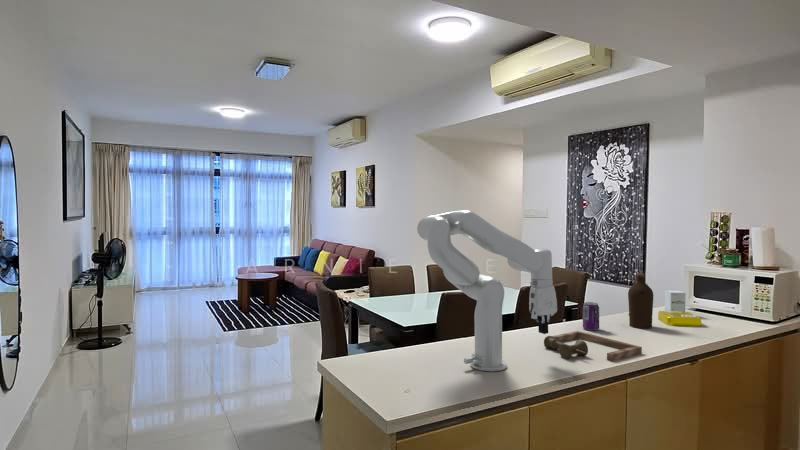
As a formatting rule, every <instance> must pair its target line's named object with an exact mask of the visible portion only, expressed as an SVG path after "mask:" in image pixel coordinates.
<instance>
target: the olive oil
mask: <svg viewBox="0 0 800 450" xmlns="http://www.w3.org/2000/svg"><path fill="white" fill-rule="evenodd" d="M645 281H646V280H645V273H641V272H640V273H637V274H636V282H635V283H633V285H631V286H630V288H629V289H628V292H627V298H628V299H627V300H628V301H627V302H628V317H629V319H628V320H629V322H628V323H629V327H631V328H635V329H644V330H645V329H647V330H649V329H652V327H653V312H654V311H653V309H654V291H653V289H652V288H651V287H650V286H649V285H648V284H647V283H646V282H645Z"/></svg>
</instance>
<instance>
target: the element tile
mask: <svg viewBox="0 0 800 450" xmlns="http://www.w3.org/2000/svg"><path fill="white" fill-rule="evenodd" d="M657 317H658V318H657V320H659V321H660V322H661V323H663V324H664V325H667V326H672V327H692V328H693V327H694V328H695V327H697V328H699V327H702V317H700V316H698V315H697V314H693V313H692V312H689V311H685V312H673V311H665V310H663V311H662V310H658V312H657Z"/></svg>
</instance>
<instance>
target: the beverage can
mask: <svg viewBox="0 0 800 450" xmlns="http://www.w3.org/2000/svg"><path fill="white" fill-rule="evenodd" d="M582 328H583V329H585V330H587V331H597V330H599V329H600V306H599V303H598V302H594V301H593V302H590V301H586V302H583V305H582Z"/></svg>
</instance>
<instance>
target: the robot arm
mask: <svg viewBox="0 0 800 450" xmlns="http://www.w3.org/2000/svg"><path fill="white" fill-rule="evenodd" d="M416 230H417V234H418V236H419V237H420V238H421V239H423V240H424V241H427V249H428V253H429V256H430V258H431V260H432V261H433V262H434V263H435V264H436V265H437V266H438V267H439V268H441V270H442V272H443V275H444V277H445V279H446V280H447V281H448V282H449V283H451V285H453V286H454V287H455V288H457V289H458V290H459V291H461V292H462V293H464V295H466V296H467V297H469V298H471V299H473V300H475V301H476V305H475V307H474V308H475V309H474V317H473V318H474V352H473V353H471V354H472V355H471V356H470V357H465V358H463V363H464V364H465V365H467V364H470V366H471V368H473V369H475V370H478V371H482V372H483V371H484V372H501V371H504V370H505V369H507V367H508V363H507V362H506V361H505V360H503V305H504V299H505V288H504V285H503V283H502V282H501V281H500V280H499V279H497V278H496V277H494V276H489V275H486V274H482V273H480V270H479V267H478V266H477V264H476V263H475V262H474V261H473V260H471V259H470V258H469V257H467V256H466V255H465V254H464V253H462V252H461V251H460V250H459V249H457V248H456V246H455V245H454V244H453V243H452V238H451V237H452V236H455V235H462V236H464V237H466V238H467V239H469V240H471V242H473V243H475V244H476V245H477V246H479V247H480V248H481V249H483V250H485V251H487V252H490V253H492V254H495V255H498V256H501V257H503V258H506V259H507V263H508V266H509V267H510V268H512V269H513V270H515V271H520V272H525V273H529V274H530V286H531V287H530V289H529V298H528V299H529V302H528V305H529V307H528V309H529V314H531V316H530V318H531V319H533V320H536V322H537V324H538V325H537V326H538V333H540V334H543V335H546V334H549V323H550V319H551V317H552V316H554V315H555V314H556V313H557V312H558V300H557V292H556V288H555V286H554V285H553V284H554V281H553V256H552V255H553V254H552V251H551V250H550V249H548V248H547V249H546V248H537V249H533V247H531V246H529V245H528V244H527V243H524V242H523V241H521V240H519V239H517V238H516V237H513V236H512V235H509V234H508V233H506V232H504V231H502V230H500V229H498V228H497V227H496V226H494V225H493V224H492V223H490V222H488V221H487V220H485V219H484V218H483V217H481V216H480V215H478V214H477V213H476V212H474V211H471V210H467V209H466V210H465V209H463V210H455V211H449V212H445V213H440V214H435V215H429V216H426V217H423V218H422V219H420V220H419V222H418V223H417V227H416Z"/></svg>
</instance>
